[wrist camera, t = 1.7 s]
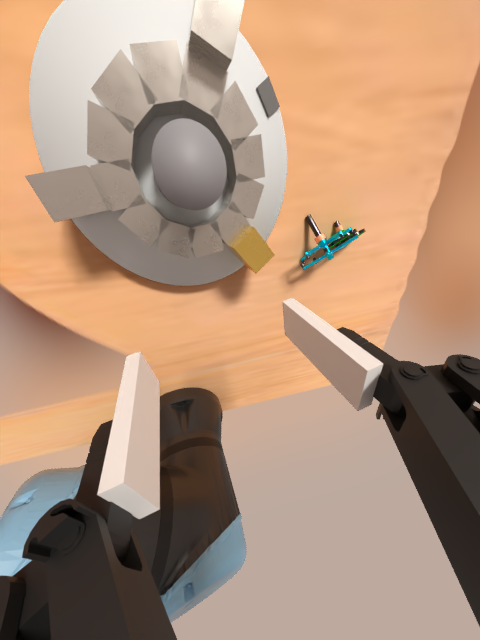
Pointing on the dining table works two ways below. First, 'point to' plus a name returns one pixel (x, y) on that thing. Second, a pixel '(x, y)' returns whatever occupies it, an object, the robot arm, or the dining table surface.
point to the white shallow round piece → (150, 132)
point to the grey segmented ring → (161, 100)
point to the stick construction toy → (329, 241)
